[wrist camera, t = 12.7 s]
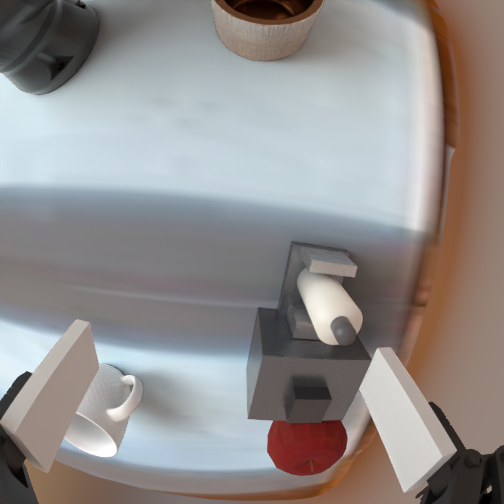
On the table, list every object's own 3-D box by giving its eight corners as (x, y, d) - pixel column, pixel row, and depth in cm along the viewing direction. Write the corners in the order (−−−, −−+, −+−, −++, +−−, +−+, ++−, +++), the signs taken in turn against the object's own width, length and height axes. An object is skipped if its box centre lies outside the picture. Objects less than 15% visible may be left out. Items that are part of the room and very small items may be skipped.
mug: (128, 335, 37) (93, 396, 24) (172, 387, 40) (154, 452, 27) (71, 362, 39) (36, 411, 26) (111, 406, 42) (87, 458, 29)
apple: (337, 415, 43) (356, 473, 30) (275, 433, 44) (282, 493, 31) (328, 372, 40) (352, 439, 27) (254, 393, 40) (259, 463, 28)
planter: (323, 25, 26) (347, -12, 17) (271, 79, 28) (281, 47, 19) (253, -17, 24) (256, -60, 14) (197, 34, 26) (183, -6, 17)
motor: (270, 238, 33) (284, 276, 22) (363, 252, 34) (411, 291, 23) (243, 382, 40) (244, 444, 28) (319, 386, 40) (337, 444, 29)
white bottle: (301, 261, 33) (329, 311, 21) (336, 266, 33) (377, 315, 22) (293, 296, 34) (315, 356, 23) (327, 300, 34) (360, 358, 23)
